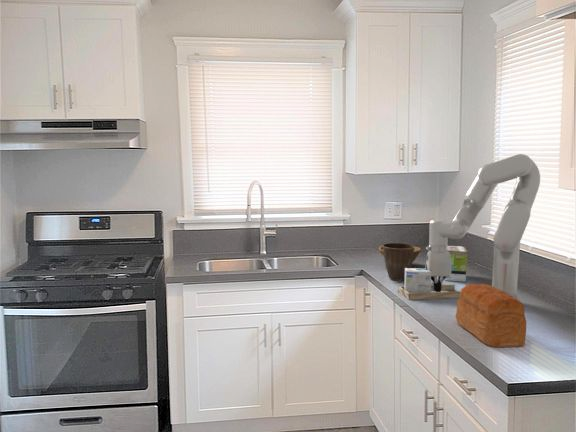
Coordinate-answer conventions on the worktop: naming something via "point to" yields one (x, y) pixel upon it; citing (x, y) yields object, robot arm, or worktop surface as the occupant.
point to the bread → (491, 316)
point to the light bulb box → (417, 280)
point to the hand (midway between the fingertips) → (437, 291)
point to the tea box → (457, 263)
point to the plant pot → (397, 259)
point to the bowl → (415, 254)
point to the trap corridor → (446, 292)
